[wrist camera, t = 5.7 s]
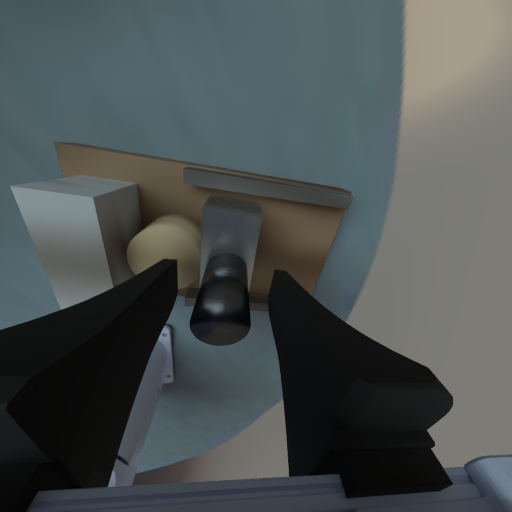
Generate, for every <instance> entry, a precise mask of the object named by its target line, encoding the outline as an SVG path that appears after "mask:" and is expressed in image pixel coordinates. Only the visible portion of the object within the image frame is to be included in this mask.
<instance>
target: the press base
mask: <svg viewBox="0 0 512 512" xmlns="http://www.w3.org/2000/svg"><path fill="white" fill-rule="evenodd" d="M54 144H55V148H56V152H57V155H58V159H59V162H60V166H61V169H62V173H63V176H64V178H59V179H53V180H46V181H40V182H33V183H27V184H21V185H14V186H10V187H11V190H12V192H13V195H14V197H15V199H16V202H17V204H18V207H19V209H20V211H21V214H22V216H23V219H24V221H25V224H26V226H27V228H28V231H29V233H30V236H31V238H32V241H33V243H34V245H35V248H36V250H37V253H38V255H39V258H40V260H41V262H42V265H43V267H44V270H45V272H46V275H47V277H48V279H49V282H50V284H51V287H52V289H53V292H54V294H55V296H56V299H57V301H58V304H59V306H60V309H61V310H62V309H64V308H67V307H70V306H72V305H75V304H78V303H80V302H83V301H85V300H87V299H90V298H92V297H94V296H96V295H99V294H101V293H103V292H105V291H107V290H109V289H111V288H113V287H115V286H117V285H119V284H121V283H123V282H125V281H126V280H128V279H130V278H132V277H134V276H136V275H135V274H134V272H133V271H132V270H131V268H130V266H129V264H128V260H127V248H128V245H129V243H130V242H131V240H132V239H133V238H134V237H135V236H136V235H137V234H139V233H140V232H141V231H142V230H143V229H145V228H146V227H147V226H148V225H149V224H151V223H152V222H153V221H154V220H156V219H157V218H158V217H160V216H162V215H164V214H167V213H181V214H185V215H188V216H190V217H192V218H194V219H195V220H196V221H198V222H199V223H200V224H201V225H202V207H203V206H204V204H205V203H206V201H207V200H208V198H209V197H210V195H212V196H219V197H225V198H232V199H239V200H245V201H252V202H258V204H259V207H260V210H261V213H262V216H263V217H262V222H261V228H260V233H259V239H258V244H257V250H256V255H255V261H254V266H253V272H252V277H251V282H250V288H249V306H250V310H256V311H269V309H268V295H269V291H270V287H271V283H272V278H273V274H274V270H275V269H276V270H286V271H287V272H288V273H289V274H290V275H291V276H292V277H293V278H294V279H295V280H296V281H297V282H298V283H299V284H300V285H301V286H302V287H303V288H304V289H305V290H306V291H307V292H308V293H309V294H310V295H311V296H312V294H313V292H314V289H315V287H316V284H317V281H318V279H319V276H320V273H321V271H322V268H323V266H324V263H325V260H326V258H327V255H328V252H329V250H330V247H331V245H332V242H333V239H334V237H335V234H336V231H337V229H338V226H339V224H340V221H341V218H342V216H343V213H344V210H345V209H349V206H350V203H351V201H352V198H353V196H351V192H350V191H347V190H344V189H342V188H336V187H331V186H325V185H319V184H313V183H307V182H301V181H295V180H289V179H283V178H278V177H272V176H266V175H260V174H254V173H248V172H242V171H236V170H230V169H225V168H219V167H213V166H207V165H201V164H195V163H189V162H183V161H177V160H171V159H166V158H160V157H154V156H148V155H142V154H136V153H130V152H124V151H118V150H113V149H107V148H101V147H95V146H89V145H83V144H77V143H62V142H54ZM199 288H200V273H199V275H198V277H197V278H196V280H195V281H194V282H193V283H192V284H190V285H189V286H187V287H184V288H181V289H178V294H177V296H185V306H195V302H196V299H197V295H198V292H199Z"/></svg>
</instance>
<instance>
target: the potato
mask: <svg viewBox="0 0 512 512" xmlns="http://www.w3.org/2000/svg"><path fill="white" fill-rule="evenodd" d="M201 227H202V225H201V224H200V223H199V222H198V221H196V220H195V219H194V218H192V217H190V216H188V215H185V214H181V213H167V214H164V215H162V216H160V217H158V218H157V219H156V220H154V221H153V222H152V223H151V224H149V225H148V226H147V227H146V228H145V229H143V230H142V231H141V232H140V233H139V234H137V235H136V236H135V237H134V238H133V239H132V240H131V242H130V243H129V245H128V248H127V260H128V264H129V266H130V268H131V270H132V271H133V272H134V274H135V275H137V274H139V273H141V272H142V271H144V270H146V269H147V268H149V267H151V266H152V265H154V264H156V263H157V262H159V261H161V260H163V259H164V258H167V259H177V268H178V289H181V288H184V287H187V286H189V285H190V284H192V283H193V282H194V281H195V280H196V278H197V277H198V275H199V273H200V258H201Z"/></svg>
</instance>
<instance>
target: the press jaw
mask: <svg viewBox="0 0 512 512" xmlns="http://www.w3.org/2000/svg"><path fill="white" fill-rule="evenodd" d="M262 217H263V216H262V213H261V210H260V207H259V204H258V202H252V201H245V200H239V199H232V198H225V197H219V196H212V195H210V197H209V198H208V200H207V201H206V203H205V204H204V206H203V207H202V227H201V258H200V288H199V292H198V295H197V299H196V302H195V306H194V309H193V312H192V316H191V319H190V329H191V331H192V333H193V334H194V336H195V337H196V338H198V339H199V340H201V341H202V342H205V343H207V344H211V345H218V346H223V345H230V344H233V343H236V342H238V341H240V340H242V339H243V338H244V337H245V336H246V335H247V334H248V332H249V330H250V326H251V321H250V306H249V288H250V282H251V277H252V272H253V266H254V261H255V255H256V250H257V244H258V239H259V233H260V228H261V222H262Z"/></svg>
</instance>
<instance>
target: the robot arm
mask: <svg viewBox="0 0 512 512" xmlns="http://www.w3.org/2000/svg"><path fill="white" fill-rule="evenodd" d="M177 294H178V268H177V259H167V258H164V259H163V260H161V261H159V262H157V263H156V264H154V265H152V266H151V267H149V268H147V269H146V270H144V271H142V272H141V273H139V274H137V275H136V276H134V277H132V278H130V279H128V280H126V281H125V282H123V283H121V284H119V285H117V286H115V287H113V288H111V289H109V290H107V291H105V292H103V293H101V294H99V295H96V296H94V297H92V298H90V299H87V300H85V301H83V302H80V303H78V304H75V305H72V306H70V307H67V308H64V309H62V310H59V311H56V312H54V313H51V314H48V315H46V316H43V317H40V318H37V319H34V320H31V321H28V322H25V323H22V324H18V325H15V326H12V327H9V328H5V329H2V330H0V512H512V454H511V455H490V456H482V457H479V458H476V459H474V460H471V461H469V462H468V463H466V464H465V465H464V467H454V468H443V467H442V465H441V464H440V462H439V461H438V459H437V458H436V456H435V454H434V453H433V451H432V450H431V448H433V447H434V446H435V442H434V441H433V439H432V438H431V436H430V435H429V433H428V432H427V429H429V428H430V427H431V426H432V425H434V424H435V423H436V422H438V421H439V420H440V419H441V418H442V417H444V416H445V415H446V414H447V413H448V412H449V411H450V409H451V408H452V406H453V397H452V395H451V394H450V393H449V392H448V390H447V389H446V388H445V387H444V386H443V384H441V382H440V381H439V380H438V379H437V377H436V376H435V375H434V374H433V373H432V371H430V369H429V368H427V367H425V366H423V365H421V364H419V363H417V362H415V361H413V360H411V359H409V358H407V357H405V356H403V355H401V354H399V353H397V352H394V351H392V350H391V349H389V348H387V347H385V346H383V345H382V344H380V343H378V342H376V341H374V340H373V339H371V338H369V337H367V336H366V335H364V334H362V333H361V332H359V331H358V330H356V329H355V328H353V327H351V326H350V325H348V324H347V323H345V322H344V321H342V320H341V319H340V318H338V317H337V316H336V315H334V314H333V313H332V312H330V311H329V310H328V309H326V308H325V307H324V306H323V305H322V304H320V303H319V302H318V301H317V300H316V299H315V298H314V297H312V296H311V295H310V294H309V293H308V292H307V291H306V290H305V289H304V288H303V287H302V286H301V285H300V284H299V283H298V282H297V281H296V280H295V279H294V278H293V277H292V276H291V275H290V274H289V273H288V272H287V271H286V270H276V269H275V270H274V274H273V278H272V283H271V287H270V291H269V295H268V309H269V317H270V321H271V326H272V331H273V335H274V339H275V344H276V348H277V353H278V359H279V365H280V373H281V382H282V391H283V401H284V410H285V421H286V434H287V450H288V464H289V477H280V478H279V477H278V478H260V479H244V480H224V481H207V482H190V483H172V484H154V485H136V486H135V485H133V484H132V483H133V479H134V476H135V473H136V470H137V468H136V467H132V466H130V465H131V464H132V463H133V462H134V460H135V459H136V457H137V456H138V454H139V453H140V451H141V449H142V447H143V444H144V442H145V439H146V436H147V433H148V430H149V427H150V424H151V420H152V417H153V414H154V411H155V408H156V405H157V402H158V399H159V396H160V393H161V390H162V387H163V384H164V383H172V382H173V379H174V373H173V357H172V340H171V328H170V327H169V326H167V325H165V324H166V322H167V320H168V318H169V315H170V313H171V311H172V309H173V306H174V303H175V300H176V297H177ZM165 333H166V334H165Z"/></svg>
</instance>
